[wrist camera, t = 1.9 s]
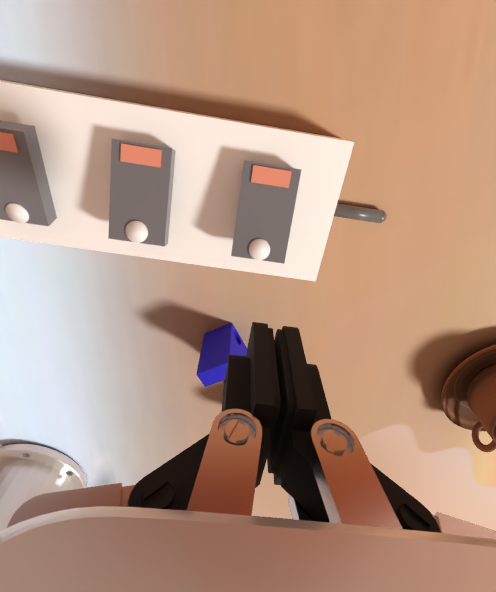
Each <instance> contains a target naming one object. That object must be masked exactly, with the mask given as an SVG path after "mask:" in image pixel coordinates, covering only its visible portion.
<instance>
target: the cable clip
mask: <svg viewBox="0 0 496 592" xmlns="http://www.w3.org/2000/svg"><path fill="white" fill-rule="evenodd" d="M229 354H230V355H238V356H246V354H247V348H246V346H245V344H244V343H243V341H242V339H241V337H240V336H239V334H238V332H237V331H236V329H235V327H234V325H233V324H232V323H230V324H228V325H225V326H223V327H220V328H217V329H215V330H212V331H210V332H207V333H205V334H204V339H203V344H202V349H201V354H200V359H199V364H198V369H197V376H198V377H199V379H200V380H201V381H202V383H203V384H204V386H205V387H206V386H208V385H211V384H214V383H217V382H220V381H222V380H225V375H226V368H227V362H228V356H229Z"/></svg>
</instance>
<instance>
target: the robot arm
mask: <svg viewBox="0 0 496 592" xmlns="http://www.w3.org/2000/svg"><path fill="white" fill-rule="evenodd" d="M266 460H267V462H268V472H269V473H274V484H275V485H281V487H282V488H284V490H285V491H286V492H287V493H288V494H289V496H288V503H289V507H290V512H291V516H292V519H283V518H271V517H259V516H251V515H252V507H253V500H254V492H255V488H256V487H257V486H258V485H259V484H260V481H261V478H262V474H263V470H264V467H265V463H266ZM86 487H87V479H86V476H85V474H84V472H83V470H82V469H81V468H80V466H79V465H78V464H76V463H75V462H74V461H73V460H72V459H70V458H69V457H67V456H66V455H64V454H62V453H60V452H58V451H56V450H53V449H50V448H47V447H43V446H39V445H33V444H11V445H6V446H2V447H0V592H496V531H494V530H491V529H488V528H485V527H481V526H479V525H475V524H472V523H469V522H466V521H463V520H460V519H457V518H454V517H451V516H448V515H445V514H442V513H438V512H437V513H436V514H435V515H432V514H431V513H430V511H429V510H428V509H426V508H425V507H424V506H423V505H422V504H421V503H420V502H419V501H417V500H416V499H415V498H414V497H412V496H411V495H410V494H408V493H407V492H406V491H405V490H403V489H402V488H401V487H400V486H398V485H397V484H396V483H395V482H393V481H392V480H391V479H389V478H388V477H387V476H386V475H385V474H383V473H382V472H381V471H379V470H378V469H377V468H376V467H374V466H373V465H372V464H371V463H370V462H369V460H368V458H367V456H366V454H365V452H364V449H363V448H362V445H361V443H360V441H359V439H358V438H357V436H356V434H355V433H354V432H353V431H352V430H351V429H350V428H349V427H348V426H347V425H345V424H343V423H342V422H339V421H336V420H333V419H331V416H330V412H329V408H328V405H327V401H326V397H325V393H324V390H323V386H322V382H321V379H320V375H319V371H318V368H317V366H316V365H312V364H307V363H306V359H305V354H304V350H303V346H302V341H301V337H300V332H299V329H298V328H294V327H287V326H283V328H282V330H280V329H277V332H276V336H275V340H274V336H273V329H272V328H268V324H264V323H256V322H253V323H252V327H251V333H250V338H249V343H248V349H247V354H246V356H238V355H230V354H229V356H228V362H227V368H226V375H225V382H224V391H223V402H222V412H221V413H220V414H219V415H218V416H216V418H215V420H214V422H213V424H212V428H211V431H210V434H208V435H207V436H205V437H204V438H202V439H201V440H199V441H198V442H196V443H195V444H193V445H192V446H190V447H189V448H187V449H186V450H184V451H183V452H181V453H180V454H178V455H177V456H175V457H174V458H172V459H171V460H169V461H168V462H166V463H165V464H163V465H162V466H160V467H159V468H157V469H156V470H154V471H153V472H151V473H150V474H148V475H147V476H145V477H144V478H143V479H141V480H140V481H139V482H138V483H137V484H136V485H132V486H125V487H122V483H118V484H110V485H103V486H96V487H88V488H86Z"/></svg>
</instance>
